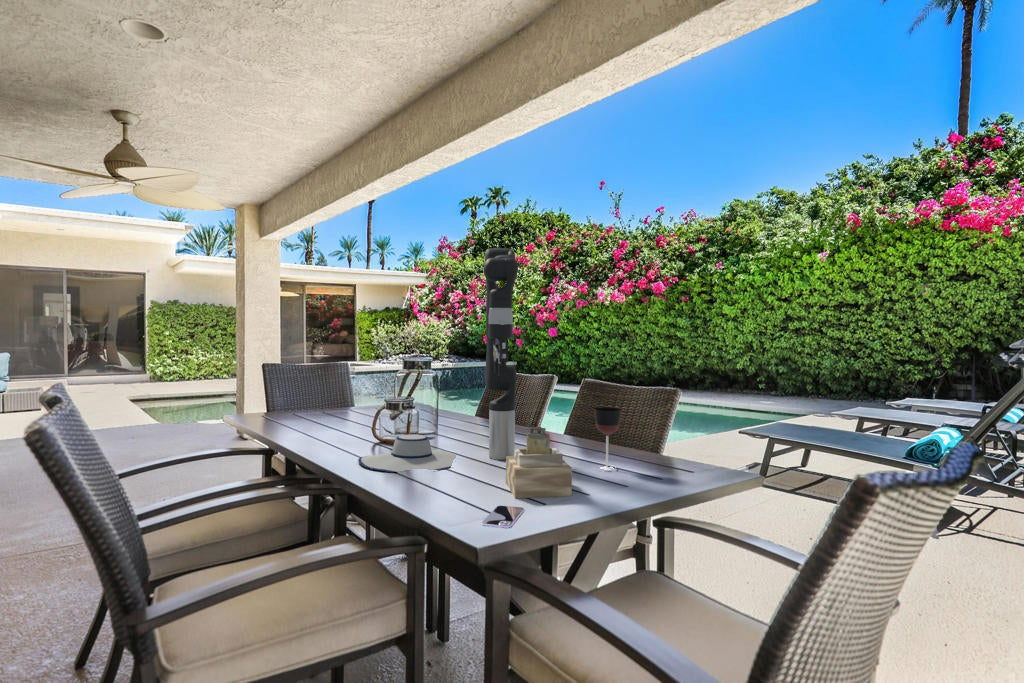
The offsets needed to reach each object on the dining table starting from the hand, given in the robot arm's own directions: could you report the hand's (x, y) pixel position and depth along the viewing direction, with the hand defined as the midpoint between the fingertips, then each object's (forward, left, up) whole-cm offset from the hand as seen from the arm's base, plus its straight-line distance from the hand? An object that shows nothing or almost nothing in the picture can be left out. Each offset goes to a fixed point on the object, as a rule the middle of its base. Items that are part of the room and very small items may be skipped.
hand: (500, 375), depth 182 cm
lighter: (+14, +9, -24) cm, 29 cm away
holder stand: (+14, +9, -32) cm, 36 cm away
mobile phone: (+37, -5, -33) cm, 49 cm away
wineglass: (-6, +37, -32) cm, 49 cm away
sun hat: (-28, -27, -33) cm, 51 cm away
